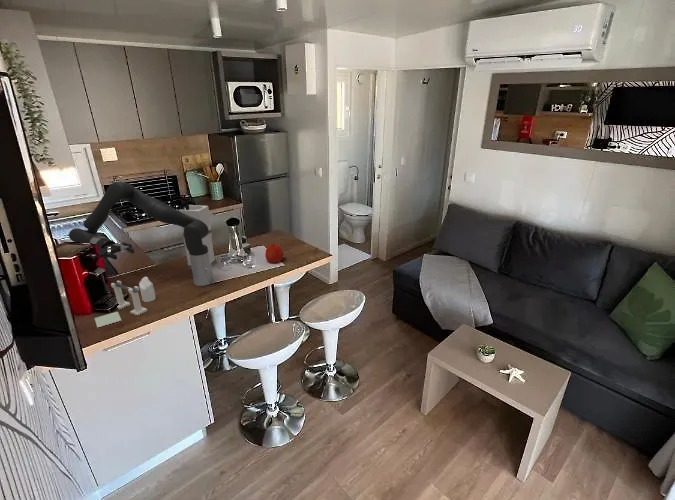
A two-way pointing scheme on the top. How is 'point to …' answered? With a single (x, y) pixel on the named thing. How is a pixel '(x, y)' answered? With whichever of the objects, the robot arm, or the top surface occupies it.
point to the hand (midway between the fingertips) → (125, 254)
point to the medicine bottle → (246, 245)
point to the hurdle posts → (122, 303)
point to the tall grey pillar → (203, 215)
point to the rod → (125, 287)
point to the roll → (147, 290)
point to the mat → (107, 319)
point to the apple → (274, 253)
